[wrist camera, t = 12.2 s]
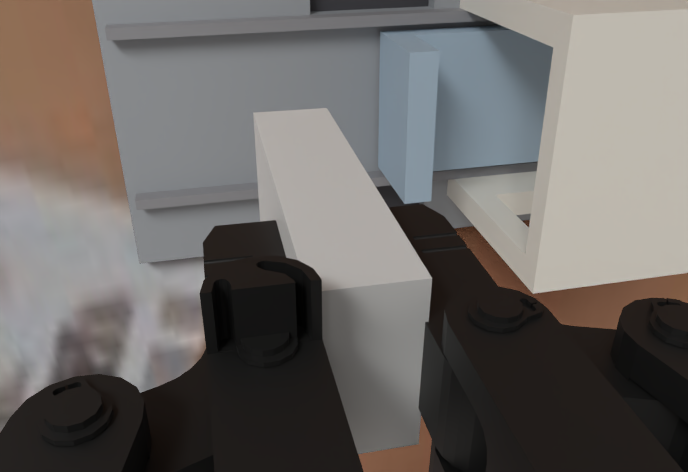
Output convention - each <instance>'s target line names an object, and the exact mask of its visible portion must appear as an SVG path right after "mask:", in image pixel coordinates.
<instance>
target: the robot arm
mask: <svg viewBox="0 0 688 472" xmlns="http://www.w3.org/2000/svg"><path fill="white" fill-rule="evenodd" d="M253 118H254V133H255V149H256V164H257V180H258V196H259V211H260V222H250V223H239V224H229V225H218V226H214V228H213V229H212V230H211V232H210V233H209V235H208V236H207V237H206V239H205V240H204V241H203V255H204V272H205V280H204V281H203V285H202V288H201V291H200V299H201V308H202V316H203V324H204V332H205V341H206V350H205V352H204V354H203V356H202V357H201V359H200V360H199V361H198V362H197V363H196V364H195V365H194V366H193V367H192V368H191V369H190V370H188V371H187V372H185V373H184V374H182V375H181V376H180V377H178V378H176V379H174V380H172V381H170V382H167V383H165V384H163V385H161V386H158V387H155V388H153V389H150V390H147V391H145V392H142V393H140V392H139V390H138V388H137V387H136V386H134V385H132V384H131V383H129V382H127V381H126V380H124V379H122V378H120V377H114V376H108V375H102V374H96V375H87V376H77V377H72V378H69V379H67V380H64V381H61V382H58V383H55V384H52V385H49V386H48V387H46V388H44V389H43V390H41V391H40V392H38V393H36V394H35V395H33V396H31V397H30V398H28V399H27V400H26V401H25V402H24V403H23V404H22V405H21V406H20V407H19V408H18V410H17V411H16V412H15V413H14V414H13V415H12V416H11V417H10V419H9V420H8V422H7V423H6V425H5V427H4V428H3V430H2V431H1V433H0V472H363V469H362V466H361V462H360V459H359V456H358V454H362V453H368V452H374V451H380V450H386V449H392V448H398V447H404V446H410V445H416V444H419V432H420V420H421V415H422V417H423V420H424V422H425V424H426V426H427V429H428V431H429V433H430V435H431V438H432V445H431V455H430V465H429V472H688V303H685V302H682V301H680V300H676V299H668V298H667V299H664V298H648V299H642V300H636V301H633V302H632V303H630V304H629V305H627V306H625V307H624V308H623V310H622V313H621V315H620V318H619V322H618V326H617V330H614V329H602V328H589V327H577V326H569V325H562V324H560V323H559V322H558V320H557V319H556V318H555V317H554V316H553V314H552V313H551V312H550V311H549V310H548V309H547V308H546V307H545V306H544V305H543V304H541V303H540V302H539V301H538V300H536V299H535V298H533V297H531V296H529V295H526V294H524V293H522V292H520V291H517V290H512V289H507V288H503V287H498V286H497V284H496V283H495V282H494V280H493V279H492V278H491V276H490V275H489V274H488V272H487V271H486V270H485V269H484V267H483V266H482V265H481V263H480V262H479V261H478V259H477V258H476V257H475V255H474V254H473V253H472V252H471V250H470V249H469V248H468V249H467V247H466V244H465V242H464V241H463V240H462V239H461V237H460V236H459V235H457V232H456V231H455V229H454V228H453V227H452V225H451V224H450V223H449V222H448V220H447V219H446V218H445V216H443V215H441V214H439V213H438V212H436V211H434V210H432V209H431V208H429V207H427V206H425V205H424V204H417V205H407V206H396V207H388V206H387V204H386V203H385V201H384V199H383V198H382V196H381V195H380V193H379V191H378V190H377V188H376V187H375V185H374V183H373V182H372V180H371V178H370V177H369V175H368V174H367V172H366V170H365V169H364V167H363V166H362V164H361V162H360V161H359V159H358V157H357V156H356V154H355V153H354V151H353V149H352V148H351V146H350V145H349V143H348V141H347V140H346V138H345V136H344V135H343V133H342V132H341V130H340V128H339V127H338V125H337V124H336V122H335V120H334V119H333V117H332V115H331V114H330V112H329V111H328V109H327V108H318V109H302V110H286V111H271V112H255V113H253Z"/></svg>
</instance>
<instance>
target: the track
mask: <svg viewBox="0 0 688 472" xmlns="http://www.w3.org/2000/svg"><path fill="white" fill-rule="evenodd" d="M92 3H93V8H94V14H95V19H96V25H97V30H98V36H99V41H100V47H101V53H102V58H103V64H104V69H105V75H106V80H107V86H108V91H109V97H110V102H111V108H112V113H113V119H114V124H115V130H116V136H117V141H118V147H119V152H120V158H121V163H122V169H123V174H124V180H125V185H126V191H127V196H128V202H129V208H130V213H131V219H132V224H133V230H134V235H135V241H136V246H137V252H138V257H139V263H140V264H141V263H150V262H158V261H167V260H176V259H185V258H194V257H203V256H204V255H203V241H204V240H205V239H206V237H207V236H208V235H209V233H210V232H211V230H212V229H213V228H214V226H218V225H229V224H239V223H250V222H260V211H259V196H258V180H257V164H256V149H255V133H254V118H253V113H255V112H271V111H286V110H302V109H318V108H327V109H328V111H329V112H330V114H331V115H332V117H333V119H334V120H335V122H336V124H337V125H338V127H339V128H340V130H341V132H342V133H343V135H344V136H345V138H346V140H347V141H348V143H349V145H350V146H351V148H352V149H353V151H354V153H355V154H356V156H357V157H358V159H359V161H360V162H361V164H362V166H363V167H364V169H365V170H366V172H367V174H368V175H369V177H370V178H371V180H372V182H373V183H374V185H375V187H376V188H377V190H378V191H379V193H380V195H381V196H382V198H383V199H384V201H385V203H386V204H387V206H388V207H396V206H407V205H417V204H424V205H425V206H427V207H429V208H431V209H432V210H434V211H436V212H438V213H439V214H441V215H443V216H445V218H446V219H447V220H448V222H449V223H450V224H451V225H452V227H453V228H461V227H469V226H474V227H475V228H476V229H477V230H478V231H479V232H480V234H481V235H482V236H483V237H484V238H485V239H486V240H487V242H488V243H489V244H490V245H491V246H492V247H493V248H494V250H495V251H496V252H497V253H498V254H499V255H500V257H501V258H502V259H503V260H504V261H505V262H506V263H507V265H508V266H509V267H510V268H511V269H512V270H513V271H514V273H515V274H516V275H517V276H518V277H519V278H520V280H521V281H522V282H523V283H524V284H525V285H526V286H527V288H528V289H529V290H530V291H531V292H532V293H533V294H534V293H542V292H549V291H556V290H564V289H571V288H579V287H586V286H593V285H601V284H608V283H616V282H623V281H630V280H638V279H645V278H653V277H660V276H668V275H675V274H682V273H688V0H92ZM491 25H501V26H504V27H506V28H508V29H511V30H513V31H515V32H518V33H520V34H523V35H525V36H527V37H530V38H532V39H534V40H537V41H539V42H541V43H544V44H546V45H548V46H551V47H553V54H552V61H551V69H550V76H549V83H548V91H547V98H546V106H545V113H544V120H543V128H542V135H541V142H540V150H539V157H538V161H537V162H526V163H516V164H505V165H495V166H484V167H474V168H463V169H453V170H442V171H433V177H432V194H431V201H428V202H419V203H409V204H404V203H403V201H402V200H401V198H400V197H399V196H398V194H397V193H396V191H395V190H394V188H393V187H392V186H391V184H390V183H389V181H388V180H387V179H386V177H385V176H384V174H383V173H382V172H381V170H380V169H379V167H378V138H379V68H380V31H398V30H417V29H435V28H454V27H473V26H491ZM523 220H530V224H529V227H528V226H527V225H526V224H525V223H524V222H523Z"/></svg>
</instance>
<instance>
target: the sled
mask: <svg viewBox="0 0 688 472" xmlns="http://www.w3.org/2000/svg"><path fill="white" fill-rule="evenodd" d="M552 54H553V47H551V46H548V45H546V44H544V43H541V42H539V41H537V40H534V39H532V38H530V37H527V36H525V35H523V34H520V33H518V32H515V31H513V30H511V29H508V28H506V27H504V26H501V25H491V26H473V27H454V28H435V29H417V30H398V31H380V68H379V138H378V167H379V169H380V170H381V172H382V173H383V174H384V176H385V177H386V179H387V180H388V181H389V183H390V184H391V186H392V187H393V188H394V190H395V191H396V193H397V194H398V196H399V197H400V198H401V200H402V201H403V203H404V204H409V203H419V202H428V201H431V194H432V177H433V171H442V170H453V169H463V168H474V167H484V166H495V165H505V164H516V163H526V162H537V161H538V157H539V150H540V142H541V135H542V128H543V120H544V113H545V106H546V98H547V91H548V83H549V76H550V69H551V61H552Z"/></svg>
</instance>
